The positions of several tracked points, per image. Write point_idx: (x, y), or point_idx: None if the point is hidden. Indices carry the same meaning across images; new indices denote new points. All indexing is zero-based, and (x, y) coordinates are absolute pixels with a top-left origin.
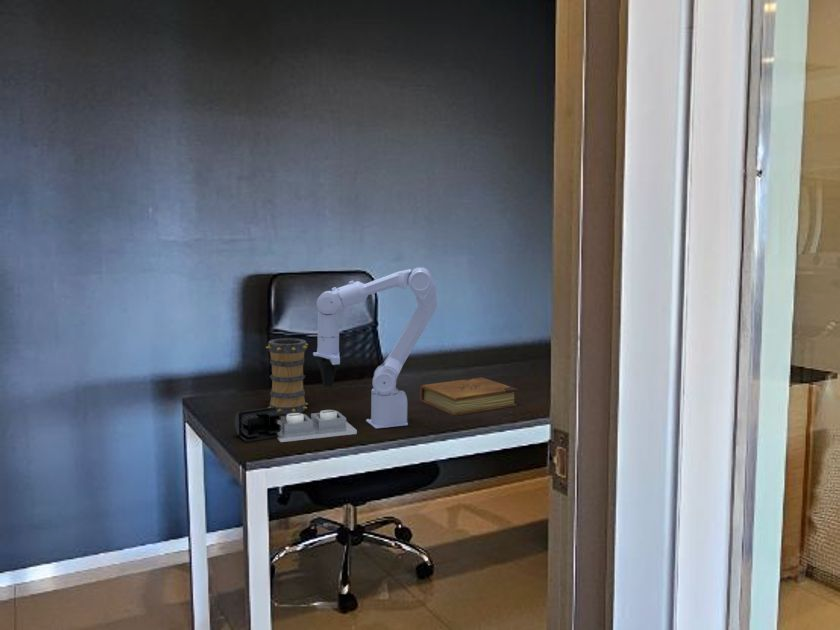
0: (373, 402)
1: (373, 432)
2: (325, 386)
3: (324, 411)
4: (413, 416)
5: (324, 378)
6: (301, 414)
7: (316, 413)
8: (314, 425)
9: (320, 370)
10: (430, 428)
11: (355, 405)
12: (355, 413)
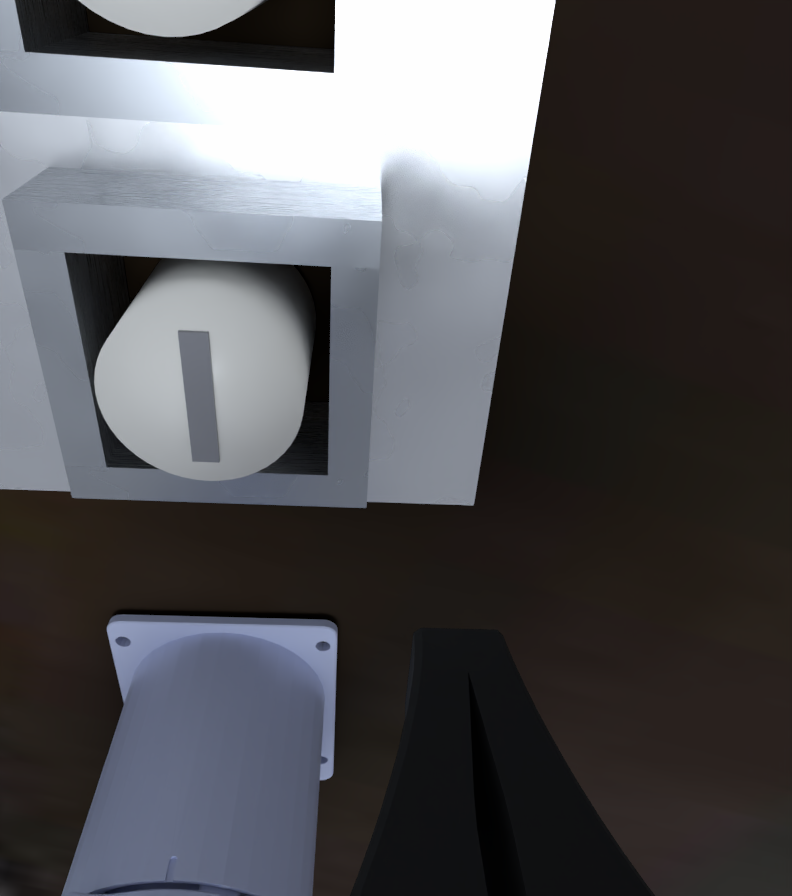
0: (158, 795)
1: (34, 575)
2: (415, 632)
3: (239, 366)
4: (335, 827)
5: (397, 753)
6: (166, 3)
7: (362, 285)
8: (234, 179)
9: (611, 886)
10: (63, 820)
11: (772, 677)
12: (579, 621)
